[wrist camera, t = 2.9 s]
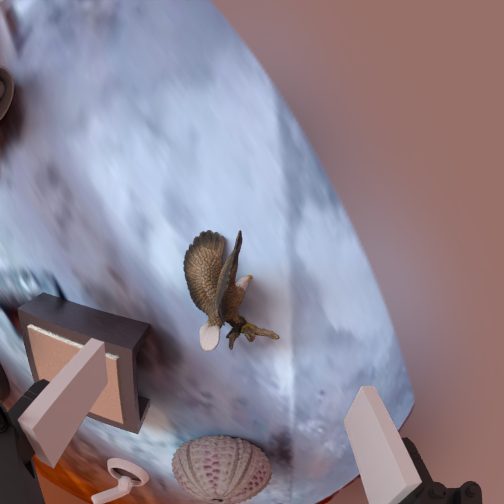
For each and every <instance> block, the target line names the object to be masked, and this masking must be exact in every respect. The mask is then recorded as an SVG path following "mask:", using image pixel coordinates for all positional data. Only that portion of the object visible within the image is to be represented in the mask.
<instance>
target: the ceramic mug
mask: <svg viewBox="0 0 504 504" xmlns="http://www.w3.org/2000/svg"><path fill="white" fill-rule="evenodd" d="M13 95H14V80H13V76H12V74H11V72H10V71H9V70H8V69H7V68H5V67H4V66H0V120H1V119H2V118H3V116H4V115H5V114H6V112H7V110H8V109H9V106H10V104H11V102H12V98H13Z"/></svg>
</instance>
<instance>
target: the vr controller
mask: <svg viewBox="0 0 504 504" xmlns="http://www.w3.org/2000/svg"><path fill="white" fill-rule="evenodd" d="M107 466H108V471H109V473H110V474H111V475H112V476H113V477H114V478H116V479H117V480H118V483H119V484H118V486H117V487H115V488H113V489H109V490H107V491H104V492H101V493H98V494H95V495H93V496H92V497H91V499H92V501H93V503H94V504H104V503H106V502H109V501H112V500H115V499H117V498H120V497H122V496H124V495H126V494H128V493H129V492H130V490H131V487H133V486H142V485H144V484H145V483H146V482H147V481H148V480H149V475H148V474H147V472H146V471H144V470H143V469H142V468H140V467H139V466H137V465H135V464H133V463H131V462H129V461H126V460H123V459H119V458H111V459H109V460H108V461H107ZM112 468H120V469H123V470H126V471H129V472H131V473H133V474H134V475H136V476H137V477H138V478H140V480H141V481H136V480H131V478H129V477H128V476H122V475H120V474H118V473H117V472H116V471H114V470H113V469H112Z"/></svg>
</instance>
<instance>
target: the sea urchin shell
mask: <svg viewBox="0 0 504 504" xmlns="http://www.w3.org/2000/svg"><path fill="white" fill-rule="evenodd" d="M173 455H174V458H173V459H172V461H173V463H172V466H173V470H172V471H173V472H174V474H175V478H176V479H177V481H178V483H179V484H180V486H181V487H182V488H183V489H184V490H185V491H186V492H187V493H188V494H190V495H191V496H193V497H194V498H196V499H198V500H201V501H204V502H210V503H213V504H235V503H240V502H242V501H246V500H248V499H251V498H252V497H254V496H256V495H258V493H260V492H261V491H262V490H263V489H264V488H265V487H266V486H267V484H269V480H271V475H272V474H273V473H271V470H270V469H271V468H270V467H271V464H270V463H269V459H268V458H267V457H266V456H265V453H263V452H261V449H260V448H257V447H256V446H255V445H251V444H250V443H249V441H246V440H241V439H240V438H236V439H233V438H231V437H229V436H223V435H221V436H208V437H206V436H204V437H203V438H202V437H200V438H199V439H196V440H190V441H189V442H186V443H183V444H182V446H179V449H177V452H176V453H174V454H173Z"/></svg>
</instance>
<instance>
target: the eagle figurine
mask: <svg viewBox="0 0 504 504" xmlns="http://www.w3.org/2000/svg"><path fill="white" fill-rule="evenodd" d="M241 245H242V234H241V230H240V231H239V233H238V236H237V239H236V243H235V247H234V250H233V252H232V254H231V255H230V256H229V258H228V259H227V261H226V262H225V264H224V266H223V268H222V254H223V249H224V236H220V235H219V234H218V233H217V232H215V233H212V231H210V230H208V231H207V232H204V231H202V232H201V233H200V236H199V237H195V238H194V241H193V245H191V244H190V245H189V250H187V251H186V254H185V260H184V272H185V278H186V281H187V285H188V289H189V291H190V295H191V298H192V300H193V302H194V303H195V305H196V307H198V308H199V310H202V311H203V312H205V313H206V315H208V318H209V320H208V321H207V322H206V323H205V324H203V325H202V326H201V328H200V332H199V335H200V344H201V347H202V349H203V350H205V351H211V350H213V349H215V348H216V347H217V345H218V343H219V339H220V328H221V327H222V325H224V326H225V324H224V322H225V321H226V322H227V323H229V324H230V325H231V326H232V327H233V328H232V330H231V331H230V332H229V333H228V334H227V336H226V338H229V348H230V349H231V350H232V349H233V343H234V341H235V339H236V338H237V337H238V336H239V335H240V333H244V334H245V336H246V338H247V339H248V341H249V342H252V341H253V340H254V339H255V335H261V336H268V337H270V338H272V339H279V336H278V335H277V334H276V333H274V332H273V331H269V330H266V329H260V328H258V327H257V326H255V325H252V324H250V323H247V321H246V320H245V318H244V317H242V316H240V315H239V314H238V306H239V305H240V304H241V302H242V300H243V297H244V294H245V291H246V288H247V286H248V284H249V280H250V279H251V278H252V276H251V275H248V276H244V277H241V278H240V279H239V280H238V281H237V283H235V278H236V272H237V268H238V255H239V252H240V249H241Z"/></svg>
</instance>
